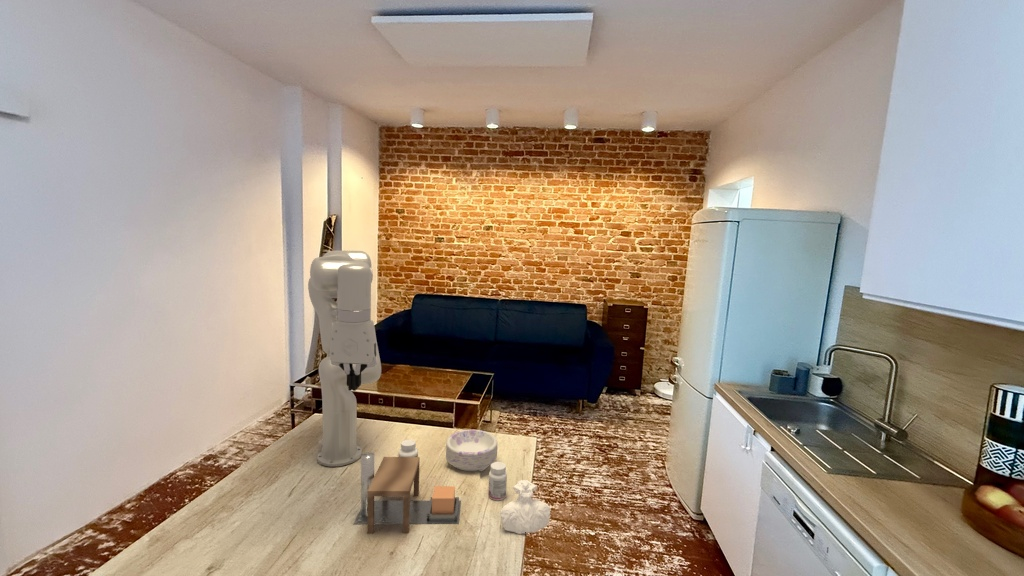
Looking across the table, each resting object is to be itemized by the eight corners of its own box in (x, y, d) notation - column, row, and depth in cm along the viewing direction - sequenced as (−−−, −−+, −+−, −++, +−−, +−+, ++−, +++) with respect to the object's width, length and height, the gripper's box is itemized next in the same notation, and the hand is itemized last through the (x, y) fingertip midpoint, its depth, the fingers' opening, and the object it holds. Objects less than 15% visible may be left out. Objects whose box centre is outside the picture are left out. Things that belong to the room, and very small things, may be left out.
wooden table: (328, 552, 89) (327, 502, 88) (360, 489, 112) (360, 449, 111) (468, 550, 91) (469, 502, 90) (471, 489, 114) (472, 449, 113)
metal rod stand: (353, 528, 97) (353, 465, 95) (364, 504, 106) (364, 446, 104) (458, 527, 98) (460, 465, 97) (461, 504, 107) (462, 446, 106)
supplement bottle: (412, 481, 117) (413, 448, 116) (394, 478, 118) (395, 445, 117) (420, 471, 122) (421, 439, 121) (403, 469, 123) (403, 437, 122)
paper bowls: (463, 485, 116) (464, 458, 115) (436, 462, 128) (436, 437, 127) (507, 468, 125) (508, 443, 125) (478, 448, 137) (478, 424, 136)
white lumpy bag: (548, 531, 102) (542, 480, 108) (555, 530, 95) (549, 476, 101) (498, 536, 100) (496, 483, 105) (503, 535, 93) (500, 479, 99)
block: (431, 518, 100) (432, 498, 99) (434, 505, 105) (434, 486, 104) (453, 518, 100) (453, 498, 99) (454, 505, 105) (455, 486, 104)
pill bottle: (487, 490, 114) (488, 460, 113) (505, 490, 114) (506, 460, 114) (488, 501, 109) (489, 470, 108) (506, 500, 110) (508, 470, 109)
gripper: (316, 317, 98) (316, 393, 100) (381, 320, 98) (380, 395, 101) (329, 311, 105) (329, 381, 108) (389, 314, 106) (388, 384, 108)
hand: (353, 388), depth 104 cm, fingers closed
